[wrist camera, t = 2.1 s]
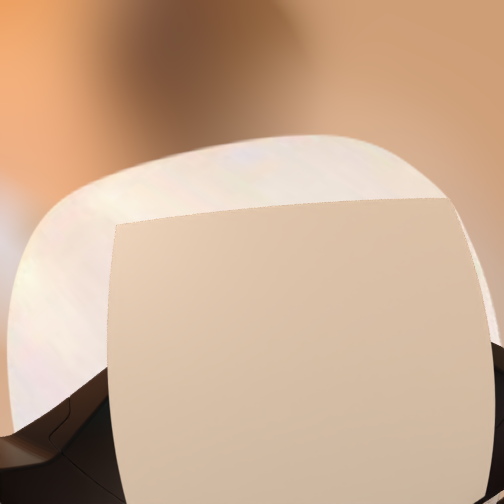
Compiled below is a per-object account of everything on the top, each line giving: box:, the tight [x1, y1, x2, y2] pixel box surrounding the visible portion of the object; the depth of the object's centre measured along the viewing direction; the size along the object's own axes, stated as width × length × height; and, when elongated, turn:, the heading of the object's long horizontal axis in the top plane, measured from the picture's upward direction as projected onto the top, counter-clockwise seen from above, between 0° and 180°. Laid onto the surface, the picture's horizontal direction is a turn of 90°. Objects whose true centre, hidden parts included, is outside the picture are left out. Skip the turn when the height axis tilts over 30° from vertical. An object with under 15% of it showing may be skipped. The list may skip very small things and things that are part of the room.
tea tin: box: [107, 198, 495, 504], centre depth 8 cm, size 5×5×13 cm
